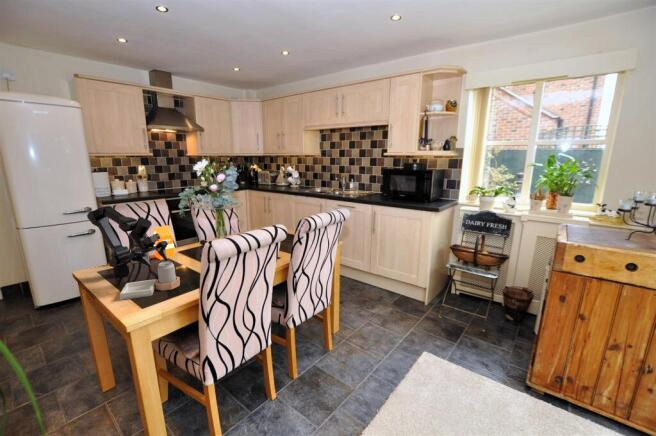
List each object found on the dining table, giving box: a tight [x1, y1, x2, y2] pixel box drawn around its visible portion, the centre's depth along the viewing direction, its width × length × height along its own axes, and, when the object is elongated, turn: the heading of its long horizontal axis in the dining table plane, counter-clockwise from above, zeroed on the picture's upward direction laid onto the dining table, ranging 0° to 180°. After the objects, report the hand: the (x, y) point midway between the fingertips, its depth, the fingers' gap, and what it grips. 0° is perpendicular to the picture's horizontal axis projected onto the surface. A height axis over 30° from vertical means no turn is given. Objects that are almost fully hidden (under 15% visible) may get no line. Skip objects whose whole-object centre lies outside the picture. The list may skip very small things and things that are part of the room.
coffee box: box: [128, 233, 150, 264], centre depth 186 cm, size 9×6×16 cm
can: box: [156, 260, 177, 284], centre depth 151 cm, size 8×8×12 cm
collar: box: [155, 275, 181, 291], centre depth 152 cm, size 10×10×3 cm
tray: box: [119, 278, 157, 301], centre depth 145 cm, size 13×13×3 cm
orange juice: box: [152, 224, 175, 261], centre depth 193 cm, size 8×9×20 cm
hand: (159, 263), depth 152 cm, fingers open, 9 cm apart
